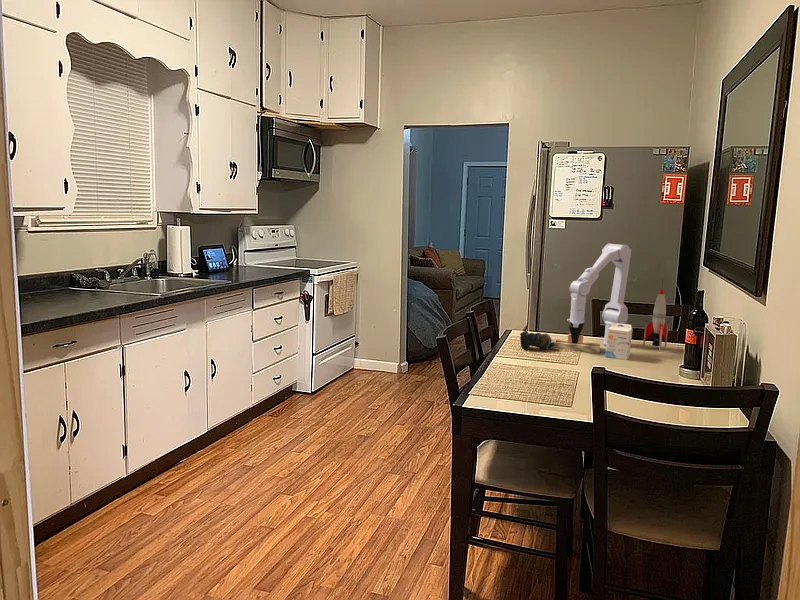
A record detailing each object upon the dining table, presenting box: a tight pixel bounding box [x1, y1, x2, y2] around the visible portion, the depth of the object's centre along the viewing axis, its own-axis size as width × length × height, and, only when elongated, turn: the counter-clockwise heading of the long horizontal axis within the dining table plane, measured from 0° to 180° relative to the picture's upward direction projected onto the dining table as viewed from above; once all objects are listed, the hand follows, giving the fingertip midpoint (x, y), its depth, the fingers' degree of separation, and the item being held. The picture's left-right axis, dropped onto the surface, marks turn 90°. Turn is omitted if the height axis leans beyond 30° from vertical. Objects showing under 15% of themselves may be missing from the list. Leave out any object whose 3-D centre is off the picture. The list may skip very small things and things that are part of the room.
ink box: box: [604, 322, 633, 361], centre depth 246 cm, size 9×8×13 cm
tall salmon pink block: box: [567, 333, 584, 344], centre depth 257 cm, size 6×2×6 cm, turn 71°
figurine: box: [517, 330, 555, 351], centre depth 255 cm, size 9×8×15 cm
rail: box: [551, 338, 601, 354], centre depth 258 cm, size 20×7×2 cm, turn 71°
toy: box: [642, 280, 669, 352], centre depth 260 cm, size 10×9×30 cm
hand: (575, 341), depth 257 cm, fingers open, 7 cm apart
